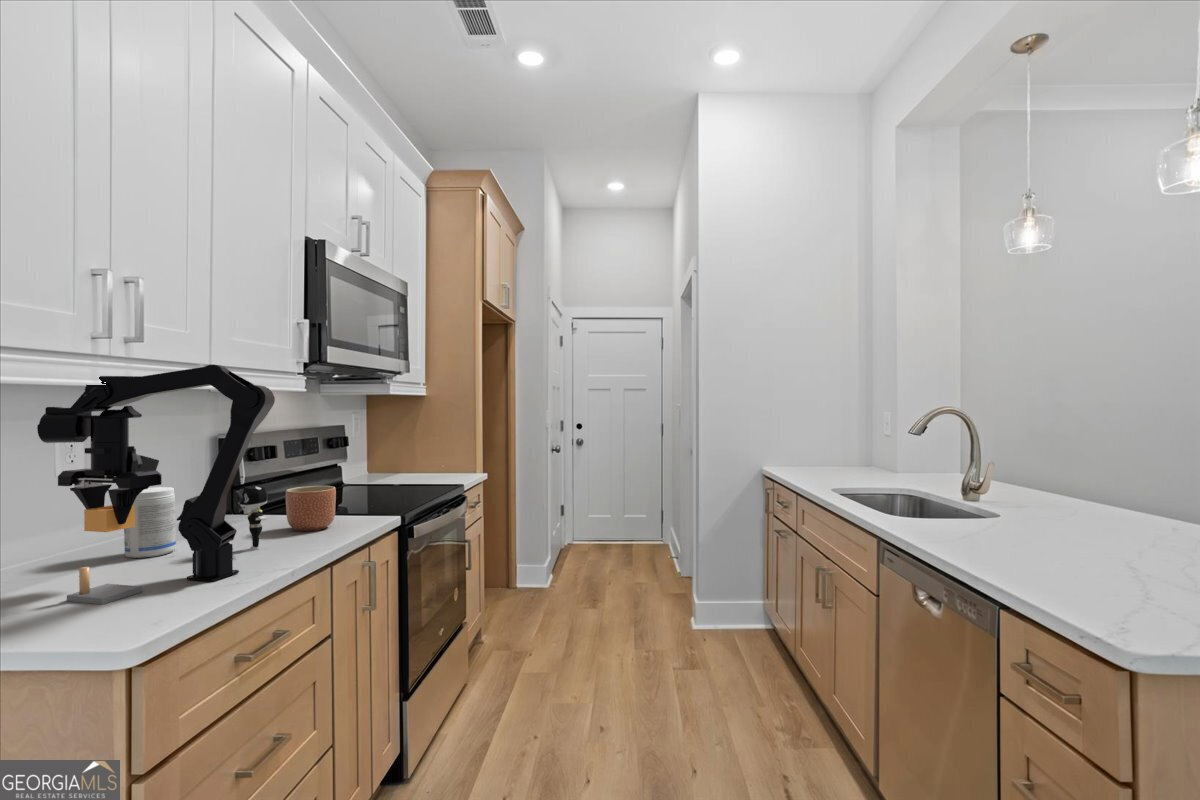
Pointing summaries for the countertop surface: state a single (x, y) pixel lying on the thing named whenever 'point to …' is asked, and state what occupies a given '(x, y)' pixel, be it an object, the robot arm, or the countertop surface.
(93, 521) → the open tan tray box
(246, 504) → the toy
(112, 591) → the grey base with peg
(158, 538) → the supplement tub
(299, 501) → the planter
